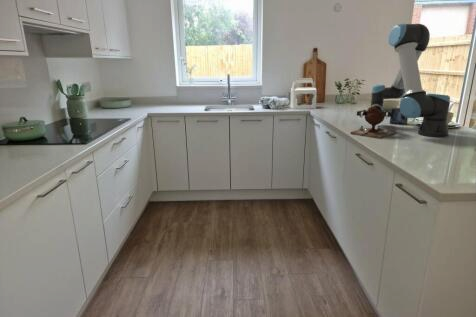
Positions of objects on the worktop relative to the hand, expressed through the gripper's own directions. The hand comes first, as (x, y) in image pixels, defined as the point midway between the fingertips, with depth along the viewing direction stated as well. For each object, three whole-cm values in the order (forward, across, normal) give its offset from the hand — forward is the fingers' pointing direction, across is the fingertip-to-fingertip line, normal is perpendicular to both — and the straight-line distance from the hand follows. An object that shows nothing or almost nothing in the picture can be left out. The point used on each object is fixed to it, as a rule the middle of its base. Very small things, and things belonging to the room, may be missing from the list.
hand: (373, 116), depth 186 cm
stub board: (-3, 0, -11) cm, 11 cm away
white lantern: (-104, +67, -11) cm, 125 cm away
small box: (-43, -14, -11) cm, 46 cm away
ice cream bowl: (-3, 0, -10) cm, 10 cm away
